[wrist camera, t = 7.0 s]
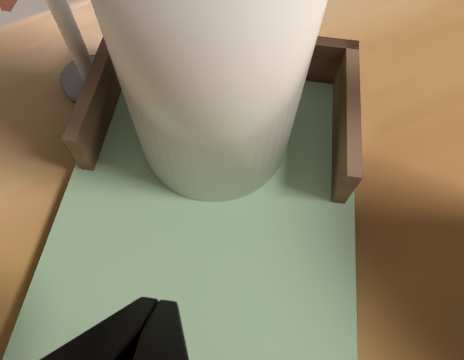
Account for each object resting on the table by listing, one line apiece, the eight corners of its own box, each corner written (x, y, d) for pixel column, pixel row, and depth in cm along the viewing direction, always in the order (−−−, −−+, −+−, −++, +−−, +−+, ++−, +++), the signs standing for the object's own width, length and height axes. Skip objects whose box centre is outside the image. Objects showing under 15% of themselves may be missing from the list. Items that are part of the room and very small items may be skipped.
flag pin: (103, 131, 19) (21, -41, 11) (46, 124, 20) (-75, -52, 12) (126, 66, 21) (70, -119, 13) (75, 60, 22) (-12, -127, 14)
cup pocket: (344, 203, 17) (362, 177, 15) (81, 169, 18) (60, 139, 15) (344, 76, 21) (358, 40, 18) (124, 51, 21) (112, 12, 19)
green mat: (355, 595, 12) (361, 606, 11) (-51, 525, 12) (-63, 532, 12) (349, 79, 21) (352, 72, 21) (122, 53, 22) (120, 45, 21)
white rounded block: (249, 227, 17) (313, -119, 5) (114, 164, 18) (-83, -228, 6) (307, 112, 20) (429, -272, 8) (187, 65, 21) (144, -324, 9)
